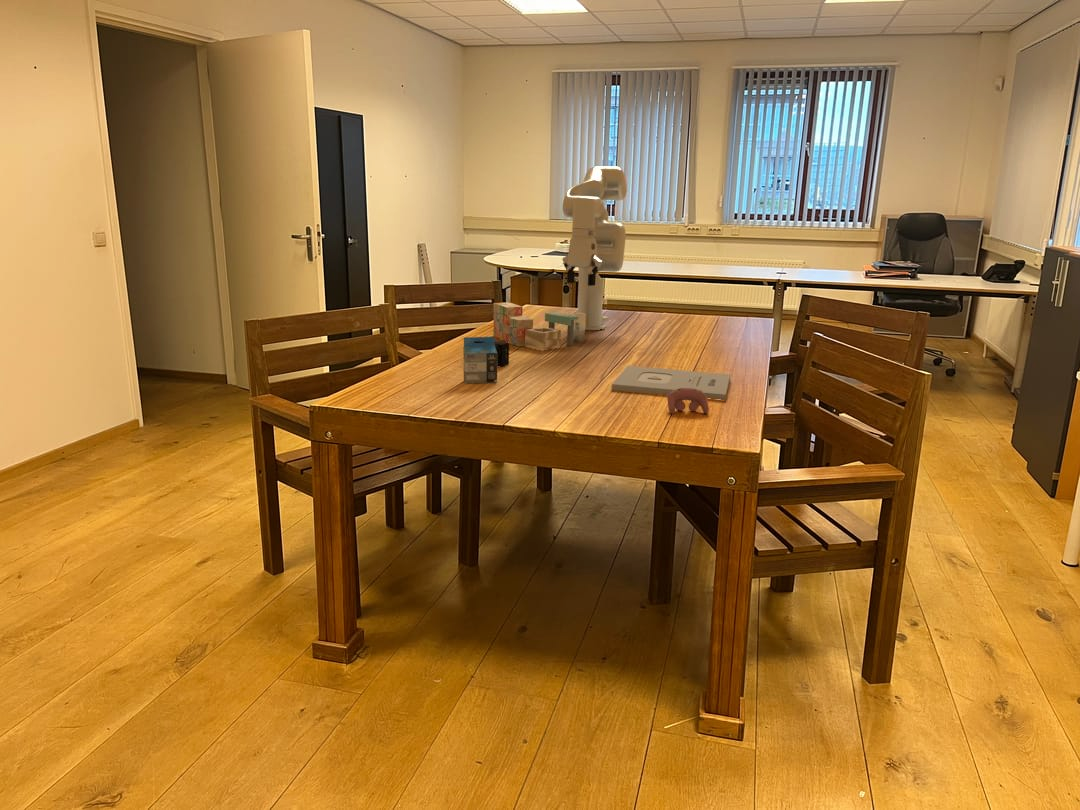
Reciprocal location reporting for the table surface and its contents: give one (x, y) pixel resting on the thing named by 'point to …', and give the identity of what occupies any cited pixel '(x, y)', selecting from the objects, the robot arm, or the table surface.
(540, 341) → the socket
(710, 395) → the award plaque
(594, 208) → the robot arm
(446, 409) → the table surface
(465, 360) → the label tape box
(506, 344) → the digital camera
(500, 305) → the stack of blocks
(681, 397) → the video game controller
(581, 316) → the peg
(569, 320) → the teal bridge block
